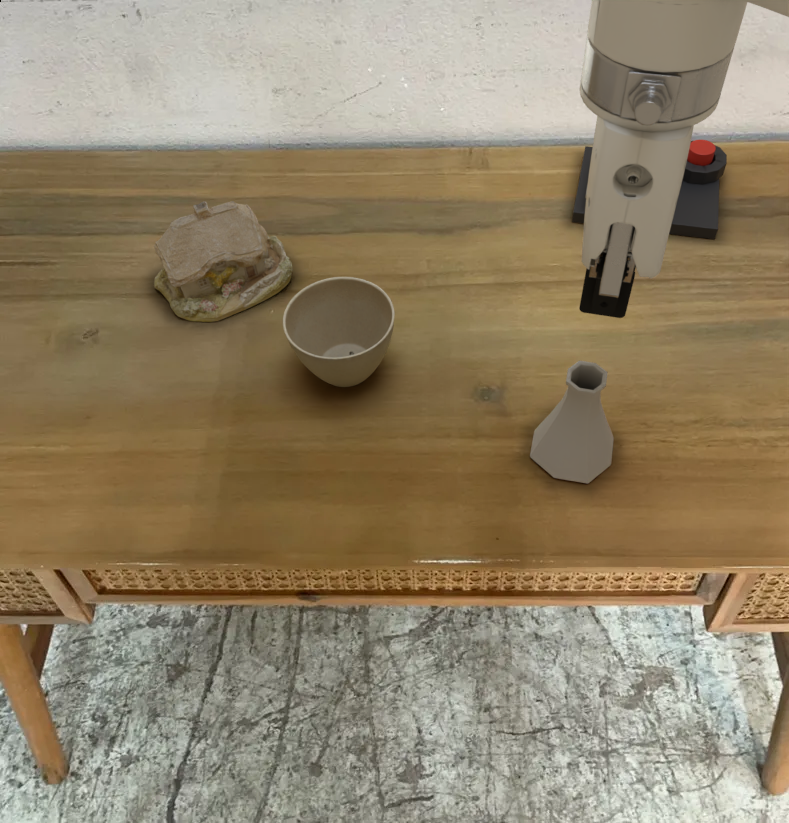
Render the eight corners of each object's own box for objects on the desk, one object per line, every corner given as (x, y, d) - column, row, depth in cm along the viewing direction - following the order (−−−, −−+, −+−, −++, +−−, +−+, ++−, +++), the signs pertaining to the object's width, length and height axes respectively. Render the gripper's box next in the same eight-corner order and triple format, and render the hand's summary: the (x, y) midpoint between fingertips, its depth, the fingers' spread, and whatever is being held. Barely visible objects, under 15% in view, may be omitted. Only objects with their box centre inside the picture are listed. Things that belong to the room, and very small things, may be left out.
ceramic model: (170, 336, 83) (141, 262, 75) (148, 266, 90) (119, 191, 82) (303, 295, 86) (289, 218, 78) (272, 230, 92) (256, 153, 84)
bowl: (281, 347, 82) (269, 294, 76) (377, 317, 83) (372, 264, 78) (311, 422, 76) (300, 371, 70) (413, 389, 78) (411, 337, 72)
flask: (627, 436, 73) (649, 362, 65) (593, 497, 70) (612, 427, 62) (551, 404, 76) (564, 329, 68) (515, 461, 72) (524, 389, 64)
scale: (720, 166, 95) (727, 143, 93) (718, 240, 88) (725, 217, 85) (584, 151, 98) (587, 129, 96) (571, 222, 91) (575, 200, 88)
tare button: (712, 152, 93) (716, 140, 91) (711, 168, 91) (715, 156, 90) (686, 150, 93) (689, 138, 92) (685, 165, 92) (688, 153, 90)
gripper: (722, 159, 40) (648, 396, 54) (728, 4, 48) (663, 245, 63) (564, 141, 41) (533, 377, 56) (598, -6, 50) (564, 232, 64)
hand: (602, 307), depth 59 cm, fingers closed
